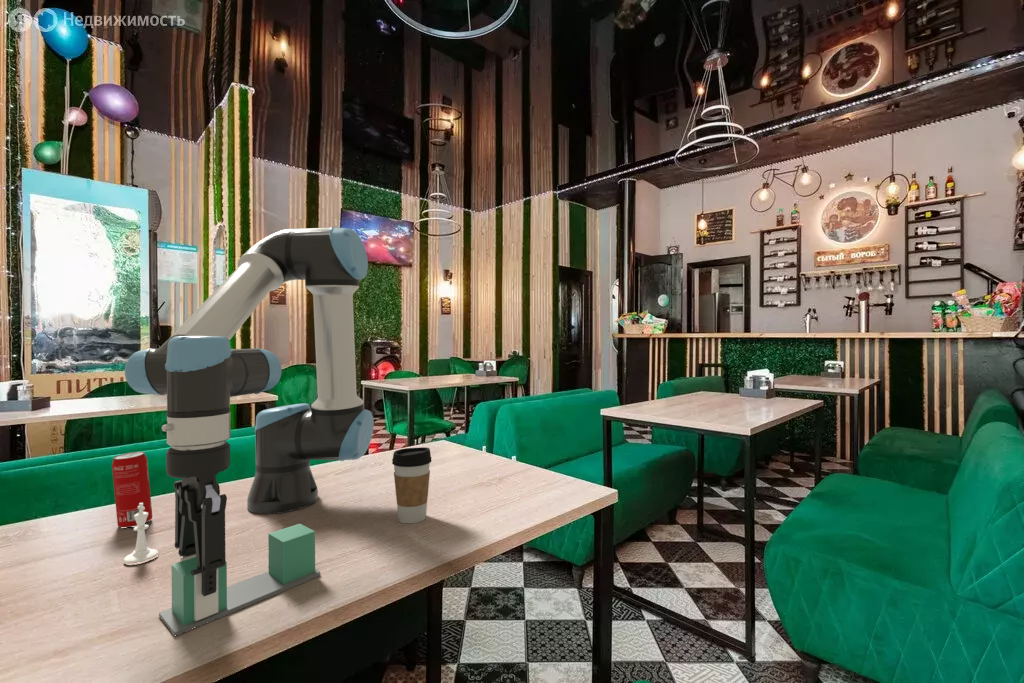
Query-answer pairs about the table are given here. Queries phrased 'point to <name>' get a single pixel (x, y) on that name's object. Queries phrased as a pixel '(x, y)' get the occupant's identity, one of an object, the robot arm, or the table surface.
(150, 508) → the beverage can
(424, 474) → the coffee cup
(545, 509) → the table surface
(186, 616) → the green block
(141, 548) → the chess piece
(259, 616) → the table surface
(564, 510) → the table surface
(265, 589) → the stand
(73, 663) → the table surface
